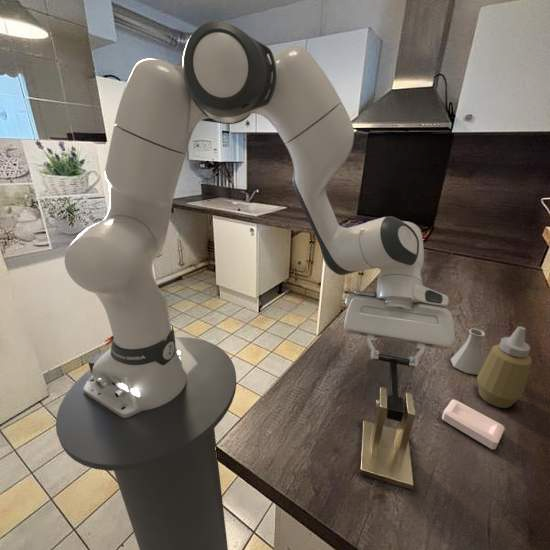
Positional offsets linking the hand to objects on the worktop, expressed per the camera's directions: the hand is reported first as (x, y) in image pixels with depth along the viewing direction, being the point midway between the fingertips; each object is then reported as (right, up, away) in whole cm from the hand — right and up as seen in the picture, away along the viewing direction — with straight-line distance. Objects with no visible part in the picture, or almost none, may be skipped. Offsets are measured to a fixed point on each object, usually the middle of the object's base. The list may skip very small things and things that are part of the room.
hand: (393, 363), depth 56 cm
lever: (-2, -3, -4) cm, 5 cm away
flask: (+25, -6, +17) cm, 31 cm away
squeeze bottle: (+25, -10, +8) cm, 28 cm away
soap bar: (+15, -13, +1) cm, 20 cm away
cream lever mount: (-3, -15, -4) cm, 16 cm away
